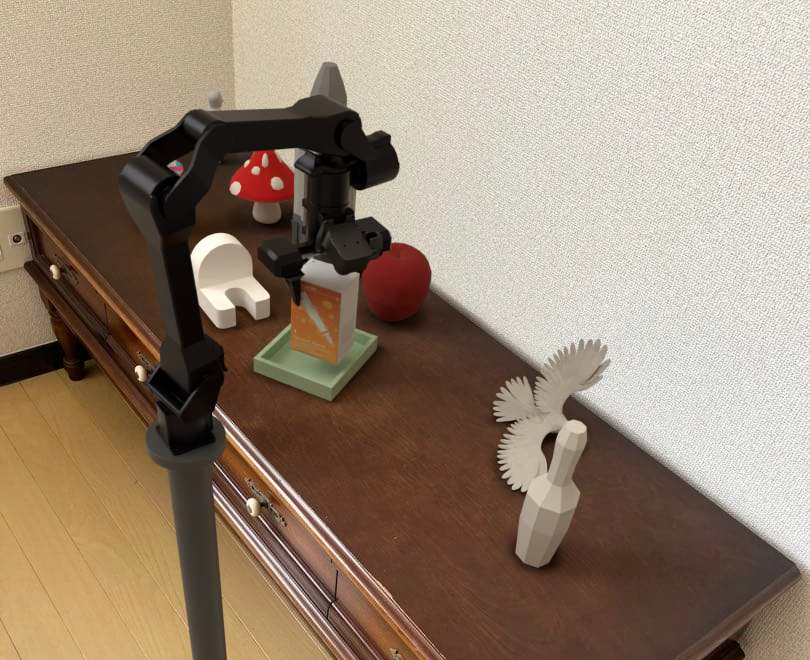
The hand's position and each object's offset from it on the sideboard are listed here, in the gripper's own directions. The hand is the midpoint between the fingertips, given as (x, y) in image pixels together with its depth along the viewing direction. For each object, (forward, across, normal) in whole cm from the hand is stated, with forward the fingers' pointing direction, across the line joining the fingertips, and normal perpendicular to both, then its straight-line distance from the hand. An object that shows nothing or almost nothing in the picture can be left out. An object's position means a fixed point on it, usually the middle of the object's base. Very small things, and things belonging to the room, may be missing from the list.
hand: (324, 297), depth 120 cm
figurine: (+13, +16, +72) cm, 75 cm away
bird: (+13, +17, -30) cm, 37 cm away
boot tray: (+13, 0, +2) cm, 13 cm away
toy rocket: (+13, +16, +27) cm, 34 cm away
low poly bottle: (+13, +5, -46) cm, 48 cm away
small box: (+9, 0, 0) cm, 9 cm away
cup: (+13, -5, +50) cm, 52 cm away
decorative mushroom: (+13, +14, +45) cm, 49 cm away
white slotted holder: (+13, -5, +25) cm, 29 cm away
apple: (+13, +18, +7) cm, 24 cm away
